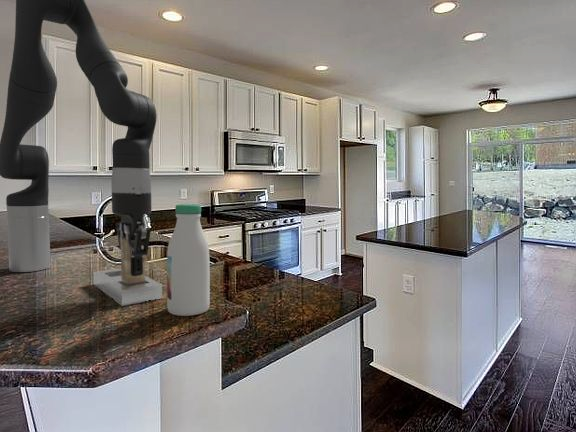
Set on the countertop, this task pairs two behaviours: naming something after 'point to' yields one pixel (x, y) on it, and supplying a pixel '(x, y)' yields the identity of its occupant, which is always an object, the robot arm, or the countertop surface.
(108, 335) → the countertop surface
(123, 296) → the white slotted block
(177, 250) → the milk bottle
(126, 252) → the beech peg
